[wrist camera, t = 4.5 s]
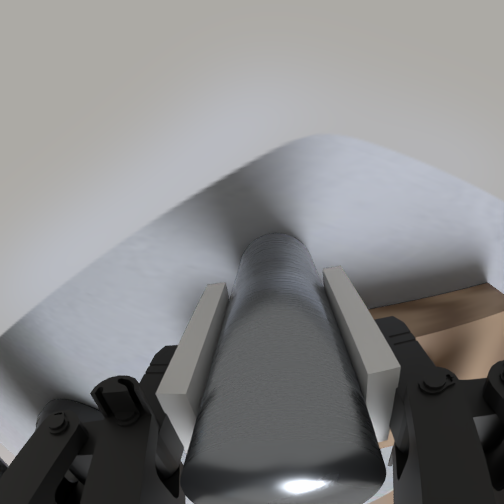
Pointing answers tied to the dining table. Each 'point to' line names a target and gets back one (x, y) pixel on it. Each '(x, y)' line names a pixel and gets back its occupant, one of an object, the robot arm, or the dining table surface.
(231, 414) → the peg
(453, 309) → the block
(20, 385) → the dining table surface
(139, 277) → the dining table surface
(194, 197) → the dining table surface
